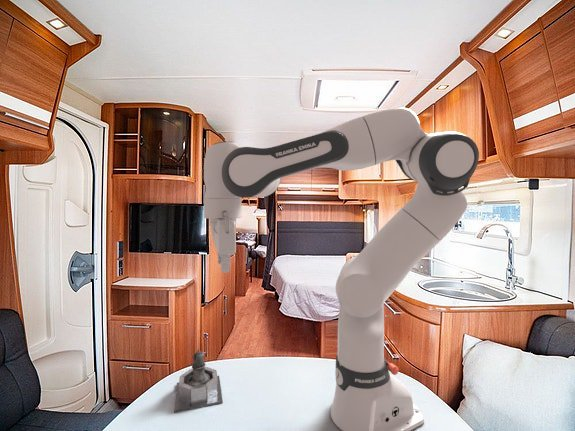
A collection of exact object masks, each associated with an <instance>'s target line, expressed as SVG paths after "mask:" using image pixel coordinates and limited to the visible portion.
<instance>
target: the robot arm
mask: <svg viewBox="0 0 575 431" xmlns="http://www.w3.org/2000/svg"><path fill="white" fill-rule="evenodd" d="M479 151H480V150H479V147H478V145H477V144H476V142H475V141H474V139H472V138H471V137H470V136H468V135H465V134H463V133H461V132H458V131H444V132H435V133H434V132H433V133H427V132H425V131H424V130H423V129H422V127H421V123H420V120H419V118H418V116H417V115H416V113H415V112H414V111H412V109H409V108H406V107H398V108H390V109H383V110H379V111H375V112H372V113H368V114H365V115H362V116H358V117H356V118H353V119H350V120H348V121H346V122H343V123H341V124H339V125H336V126H334V127H332V128H329V129H326V130H325V131H322V132H319V133H317V134H314V135H310V136H307V137H303V138H299V139H296V140H293V141H290V142H285V143H281V144H279V145H275V146H271V147H264V148H261V147H260V148H259V147H251V146H240V145H239V144H238V143H237V142H235V141H218V142H216V143H213V144H211V145H209V146H208V147H207V148H206V151H205V154H204V163H203V181H204V182H203V183H204V185H205V191H204V197H203V217H204V219H209V226H210V229H211V236H212V242H213V245H214V246H215V249H216V253H217V263H218V265H220V270H221V271H220V272H221V273H223V274H225V273H227V274H228V273H229V272H230V271H231V270H230V269H231V268H230V266H231V259H232V256H233V255H235V254H236V251H237V239H236V238H237V235H236V234H237V233H236V231H237V230H236V225H237V219H242V213H243V212H242V198H244V199H245V198H246V199H247V198H264V197H265V198H266V197H268V196H270V195H272V194H274V193H275V192H276V191H277V190H278V188H279V186H280V183H281V179H282V178H286V177H290V176H293V175H296V174H299V173H302V172H305V171H308V170H313V169H319V168H325V169H326V168H329V169H333V170H334V169H335V170H339V171H343V172H346V171H356V170H361V169H365V168H370V167H373V166H376V165H380V164H382V163H384V162H385V163H386V162H388V161H395V163H396V164H397V166H398V167H399V168H400V170H401V172H402V173H403V174H404V176H406V177H407V178H408V179H410V180H411V181H414V182H417V184H416V188H415V189H416V190H415V192H414V194H413V195H412V196H411V199H409V201H407V202H406V203H405V204H404V205H403V206H402V207H401V208H400V209H399V210H398V211H397V212H396V213H395V214H394V215H393V216H392V217H391V218H390V219H389V220H388V221H387V222H386V223H385V224H384V226H383V225H382V226H383V227H381V228H380V229H379V230H378V232H377V233H376V234H375V235H374V236H373V238H371V240H370V241H369V242H368V243H367V244H366V245H365V247H363V249H362V250H361V251H360V252H359V253H358V254H357V255H356V256H353V257H351V258H349V259H348V260H346V262H345V263H344V264H343V265H342V268H341V269H340V272H339V275H338V276H337V280H336V283H335V293H336V297H337V300H338V303H339V305H338V306H339V308H338V321H337V355H336V356H335V369H334V370H335V390H334V396H333V400H332V401H333V402H332V404H331V407H330V410H329V411H330V418H331V419H332V422H334V424H335V426H336V427H338V428H339V429H340V430H341V431H413V430H414V429H417V428H418V427H420V426H422V425H423V424H424V423H425V420H424V415H423V413H422V412H421V410H420V408H419V407H418V406H417V405H416V404H415V403H414V401H413V397H412V395H411V392H410V390H409V389H408V388H407V386H406V385H405V384H404V383H403V382H401V381H400V379H398V378H397V377H396V375H398V373H399V371H400V370H399V367H398V366H397V365H395V364H394V362H393V363H392V362H389V361H388V360H387V359H386V358H385V357H384V356H385V304H384V303H385V302H386V301H387V300H388V299H389V297H390V296H392V294H393V293H394V292H395V290H396V289H397V288H398V287H399V286H400V284H401V283H402V282H403V281H404V279H405V278H406V277H407V276H408V274H409V273H410V272H411V270H413V269H414V267H415V266H416V265H417V264H418V263H419V262H420V261H421V260H422V259H424V257H425V256H426V255H427V254H428V253H429V252H431V251H432V250H433V249H434V247H435V248H436V246H437V245H438V244H439V243H441V241H442V240H443V239H444V238H445V237H447V235H448V234H449V233H450V231H451V230H452V229H453V228H454V227H455V226H456V224H458V222H459V221H460V219H461V218H462V216H463V215H464V213H465V212H466V210H467V207H468V201H467V198H466V196H465V194H464V193H463V191H464V190H466V189H467V188H468V186H469V183H470V179H471V177H472V176H473V174H474V173H475V171H476V169H477V167H478V164H479V159H480V152H479ZM460 188H461V189H460Z"/></svg>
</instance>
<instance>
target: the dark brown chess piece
mask: <svg viewBox="0 0 575 431" xmlns="http://www.w3.org/2000/svg"><path fill="white" fill-rule="evenodd" d="M192 360H193V361H192V362H193V363H192V366H191V369H193V375H192V376H190V377H189V379H188V384H189V385H190V386H198V385H204V384H206V383H207V382H208V381H209V379H210V376H209V375H208V374H206V373H205V372H204V367H206V363H205V354H204V352H203V351H201V350H200V349H199V348H198V349H197V351H196V352H194V354H193V356H192Z"/></svg>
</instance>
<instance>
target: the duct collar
mask: <svg viewBox="0 0 575 431" xmlns="http://www.w3.org/2000/svg"><path fill="white" fill-rule="evenodd" d="M204 372H205V373H206V374H208V375H209V376H210V379H209V381H208V382H207V383H206V384H204V385H198V386H190V385H189V384H188V379H189V377H190V376H192V375H193V368H191V369H189V370H187V371H186V372H184V373H183V374H181V375H180V376H179V380H178V382H176V388H175V398H174V408H173V413H180V412H185V411H189V410H195V409H200V408H205V407H210V406H214V405H215V406H216V405H220V404H223V403H224V402H223V393H222V387H221V380H220V375H218V372H217V369H215V368H211V367H207V366H205V367H204Z"/></svg>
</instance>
